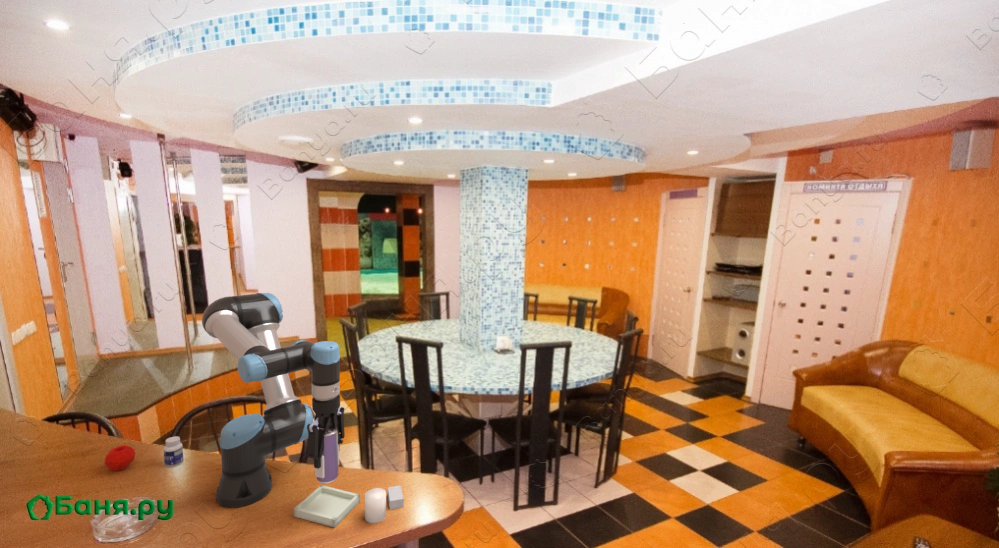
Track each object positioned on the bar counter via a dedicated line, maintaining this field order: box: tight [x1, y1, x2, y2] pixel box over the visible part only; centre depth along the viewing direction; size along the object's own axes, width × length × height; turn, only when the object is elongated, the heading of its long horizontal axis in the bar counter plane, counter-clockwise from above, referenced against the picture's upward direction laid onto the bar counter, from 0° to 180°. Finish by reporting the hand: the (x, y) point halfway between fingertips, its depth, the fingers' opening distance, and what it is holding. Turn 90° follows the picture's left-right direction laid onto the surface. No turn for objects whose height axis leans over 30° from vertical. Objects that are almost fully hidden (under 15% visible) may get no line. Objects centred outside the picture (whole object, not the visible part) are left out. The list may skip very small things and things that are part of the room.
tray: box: [293, 484, 361, 529], centre depth 131 cm, size 14×12×2 cm
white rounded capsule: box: [364, 487, 387, 524], centre depth 128 cm, size 6×6×7 cm
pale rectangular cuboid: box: [387, 485, 405, 511], centre depth 136 cm, size 7×4×3 cm, turn 20°
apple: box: [104, 445, 136, 472], centre depth 146 cm, size 8×8×7 cm
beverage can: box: [316, 427, 339, 484], centre depth 129 cm, size 6×6×15 cm
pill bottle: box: [163, 435, 184, 468], centre depth 150 cm, size 5×5×9 cm
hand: (327, 470), depth 129 cm, fingers closed on beverage can, 6 cm apart
